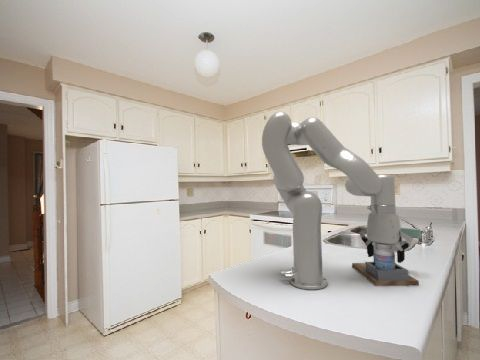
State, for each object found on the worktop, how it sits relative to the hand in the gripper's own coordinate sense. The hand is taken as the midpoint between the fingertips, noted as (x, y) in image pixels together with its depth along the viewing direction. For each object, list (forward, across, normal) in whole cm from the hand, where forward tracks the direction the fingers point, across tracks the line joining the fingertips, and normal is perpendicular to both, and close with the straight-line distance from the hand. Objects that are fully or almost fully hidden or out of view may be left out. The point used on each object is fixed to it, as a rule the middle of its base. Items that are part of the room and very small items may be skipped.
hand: (385, 259), depth 90 cm
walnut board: (+7, -3, +4) cm, 9 cm away
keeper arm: (-7, -1, +11) cm, 13 cm away
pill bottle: (+6, 0, 0) cm, 6 cm away
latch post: (+6, -8, +11) cm, 15 cm away
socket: (+6, 0, 0) cm, 6 cm away
